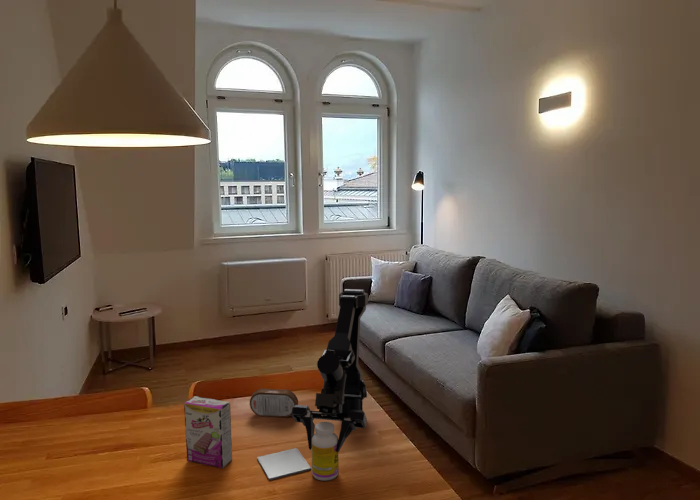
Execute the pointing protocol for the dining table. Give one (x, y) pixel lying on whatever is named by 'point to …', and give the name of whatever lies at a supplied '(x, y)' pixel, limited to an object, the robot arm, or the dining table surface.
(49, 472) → the dining table surface
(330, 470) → the supplement bottle
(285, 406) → the tin
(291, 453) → the slate coaster
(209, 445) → the candy bar box
